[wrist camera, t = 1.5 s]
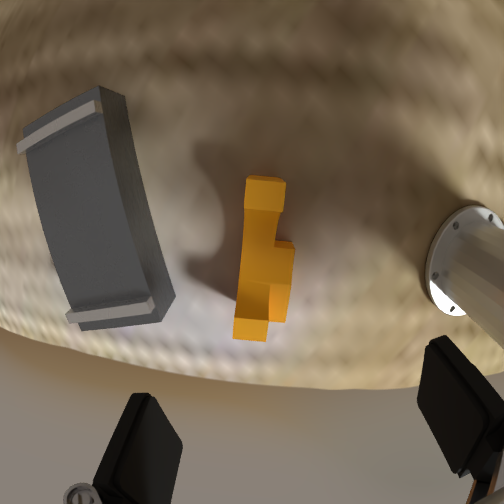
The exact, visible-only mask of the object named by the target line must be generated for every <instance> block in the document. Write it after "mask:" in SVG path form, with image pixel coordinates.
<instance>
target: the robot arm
mask: <svg viewBox="0 0 504 504" xmlns="http://www.w3.org/2000/svg"><path fill="white" fill-rule="evenodd" d="M425 280H426V288H427V291H428V294H429V296H430V298H431V300H432V302H433V303H434V304H435V305H436V306H437V307H438V308H439V309H440V310H441V311H443V312H444V313H446V314H448V315H454V316H459V315H465V314H467V315H468V316H469V317H470V318H471V319H472V320H473V321H474V322H476V323H477V324H478V325H479V326H480V327H481V328H482V329H483V330H484V331H485V332H486V333H487V334H488V335H489V336H490V337H492V338H493V339H494V340H495V341H496V342H497V343H498V344H499V345H500V346H501V347H502V348H503V349H504V226H503V223H502V222H501V220H500V218H499V217H498V216H497V215H496V214H495V213H494V212H493V211H491V210H490V209H488V208H485V207H482V206H476V205H471V206H466V207H463V208H461V209H459V210H457V211H456V212H455V213H453V214H452V215H451V216H450V217H449V218H448V219H447V220H446V221H445V222H444V223H443V224H442V226H441V227H440V229H439V230H438V232H437V234H436V236H435V238H434V240H433V242H432V244H431V247H430V250H429V253H428V257H427V262H426V271H425ZM417 403H418V407H419V409H420V410H421V412H422V414H423V416H424V418H425V420H426V421H427V423H428V425H429V427H430V429H431V431H432V433H433V435H434V437H435V439H436V440H437V443H438V444H439V446H440V448H441V450H442V452H443V454H444V456H445V458H446V460H447V462H448V464H449V467H450V469H451V471H452V472H453V473H455V474H456V473H457V474H458V476H459V478H461V477H463V476H465V475H467V474H469V473H471V475H472V477H473V479H474V481H473V484H472V487H471V490H470V493H469V496H468V498H467V501H466V504H504V401H503V399H502V398H501V397H500V396H499V394H498V393H497V392H496V391H495V389H494V388H493V387H492V386H491V384H490V383H489V382H488V381H487V380H486V378H485V377H484V376H483V375H482V374H481V372H480V371H479V370H478V369H477V368H476V366H474V365H473V364H472V363H471V362H470V361H469V360H468V359H467V358H466V357H465V355H464V354H463V353H462V352H461V351H460V350H459V349H458V347H457V346H456V345H455V344H454V343H453V342H452V341H451V340H450V339H449V337H447V336H446V335H443V336H440V337H438V338H435V339H432V340H430V342H429V345H427V346H426V348H425V354H424V361H423V368H422V374H421V380H420V385H419V391H418V396H417ZM182 449H183V445H182V441H181V439H180V438H179V436H178V435H177V433H176V432H175V430H174V428H173V427H172V425H171V424H170V422H169V420H168V419H167V417H166V415H165V414H164V412H163V410H162V409H161V407H160V406H159V403H158V402H157V400H156V399H155V397H152V396H151V395H150V394H149V393H133V394H132V395H131V397H130V399H129V401H128V403H127V405H126V407H125V409H124V411H123V414H122V416H121V418H120V420H119V422H118V424H117V427H116V429H115V431H114V433H113V435H112V438H111V440H110V442H109V444H108V447H107V449H106V451H105V453H104V456H103V458H102V461H101V463H100V465H99V467H98V470H97V472H96V475H95V477H94V479H93V484H92V485H90V484H87V483H77V484H74V485H73V486H71V487H70V488H69V489H68V490H67V491H66V492H65V494H64V499H63V503H64V504H171V499H172V494H173V490H174V485H175V480H176V476H177V471H178V467H179V463H180V458H181V454H182Z"/></svg>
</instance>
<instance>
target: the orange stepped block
mask: <svg viewBox="0 0 504 504" xmlns="http://www.w3.org/2000/svg"><path fill="white" fill-rule="evenodd" d="M285 190H286V182H284V181H283V180H282V179H281V178H277V177H268V176H258V175H249V176H248V177H247V179H246V188H245V199H244V229H243V242H242V253H241V264H240V274H239V283H238V292H237V301H236V308H235V315H234V326H233V339H240V340H251V341H262V342H266V337H267V330H268V323H269V321H271V322H283V323H285V321H286V315H287V309H288V303H289V297H290V290H291V281H292V270H293V261H294V254H295V248H294V245H293V243H292V242H287V241H277V240H275V236H276V230H277V225H278V220H279V216H280V214H281V212H283V208H284V199H285Z"/></svg>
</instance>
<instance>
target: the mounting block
mask: <svg viewBox="0 0 504 504" xmlns="http://www.w3.org/2000/svg"><path fill="white" fill-rule="evenodd" d="M23 134H24V139H23V140H21V141H20V142H18V143H17V144H16V145H17V153H18V154H26V156H27V162H28V167H29V173H30V178H31V183H32V187H33V192H34V196H35V201H36V205H37V209H38V213H39V216H40V220H41V224H42V227H43V231H44V234H45V238H46V241H47V244H48V247H49V250H50V253H51V256H52V259H53V262H54V265H55V268H56V271H57V273H58V276H59V279H60V281H61V284H62V287H63V289H64V292H65V294H66V297H67V299H68V302H69V304H70V306H71V309H70V310H69V311H68V312H67V313H66V314H65V315H66V318H67V320H68V322H69V324H70V323H78V324H79V326H80V329H81V331H88V330H98V329H107V328H116V327H125V326H133V325H142V324H149V323H157V322H161V321H162V320H163V318H164V316H165V314H166V313H167V311H168V309H169V307H170V306H171V304H172V302H173V300H174V299H175V297H176V295H175V292H174V289H173V286H172V283H171V280H170V277H169V274H168V271H167V268H166V265H165V261H164V258H163V255H162V252H161V248H160V245H159V241H158V238H157V235H156V231H155V227H154V224H153V220H152V217H151V213H150V209H149V205H148V202H147V198H146V194H145V190H144V186H143V182H142V178H141V174H140V169H139V165H138V161H137V156H136V152H135V147H134V142H133V138H132V133H131V128H130V123H129V118H128V112H127V107H126V101H125V96H123V95H121V94H118V93H116V92H114V91H111V90H109V89H106V88H104V87H101V86H97V87H95V88H93V89H91V90H89V91H87V92H85V93H83V94H81V95H79V96H77V97H75V98H73V99H71V100H70V101H68V102H66V103H64V104H62V105H61V106H59V107H57V108H55V109H54V110H52V111H50V112H48V113H47V114H45V115H44V116H42V117H40V118H39V119H37V120H36V121H34V122H32V123H31V124H29V125H28V126H26V127H25V128H23Z"/></svg>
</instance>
